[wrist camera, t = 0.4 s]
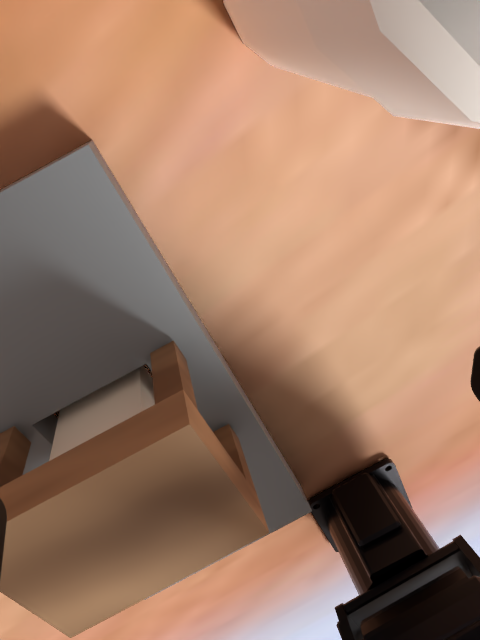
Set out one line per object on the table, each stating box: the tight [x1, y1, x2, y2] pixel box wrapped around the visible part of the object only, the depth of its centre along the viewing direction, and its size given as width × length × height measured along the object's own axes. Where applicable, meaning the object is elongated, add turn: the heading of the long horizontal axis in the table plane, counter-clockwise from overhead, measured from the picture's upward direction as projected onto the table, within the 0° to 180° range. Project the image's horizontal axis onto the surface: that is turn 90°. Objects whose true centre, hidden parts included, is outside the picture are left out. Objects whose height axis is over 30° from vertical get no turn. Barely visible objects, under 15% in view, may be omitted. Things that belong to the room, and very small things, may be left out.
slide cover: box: [0, 341, 269, 638], centre depth 19 cm, size 7×9×6 cm
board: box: [0, 140, 312, 600], centre depth 22 cm, size 24×12×2 cm, turn 25°
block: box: [49, 366, 155, 461], centre depth 21 cm, size 4×4×6 cm
